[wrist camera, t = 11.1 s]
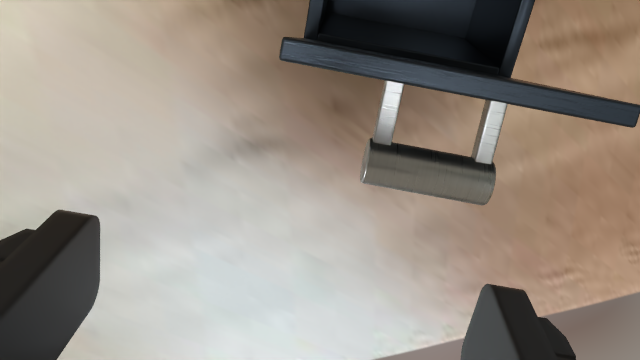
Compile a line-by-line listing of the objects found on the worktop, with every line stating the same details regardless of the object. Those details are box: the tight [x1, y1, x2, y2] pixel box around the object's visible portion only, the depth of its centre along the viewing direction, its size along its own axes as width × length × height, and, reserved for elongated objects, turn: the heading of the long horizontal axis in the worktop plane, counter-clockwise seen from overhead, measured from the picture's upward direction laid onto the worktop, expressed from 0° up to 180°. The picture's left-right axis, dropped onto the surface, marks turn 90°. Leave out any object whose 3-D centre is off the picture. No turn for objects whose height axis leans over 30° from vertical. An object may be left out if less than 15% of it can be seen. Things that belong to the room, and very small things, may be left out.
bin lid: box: [279, 37, 640, 205], centre depth 27 cm, size 14×13×5 cm
